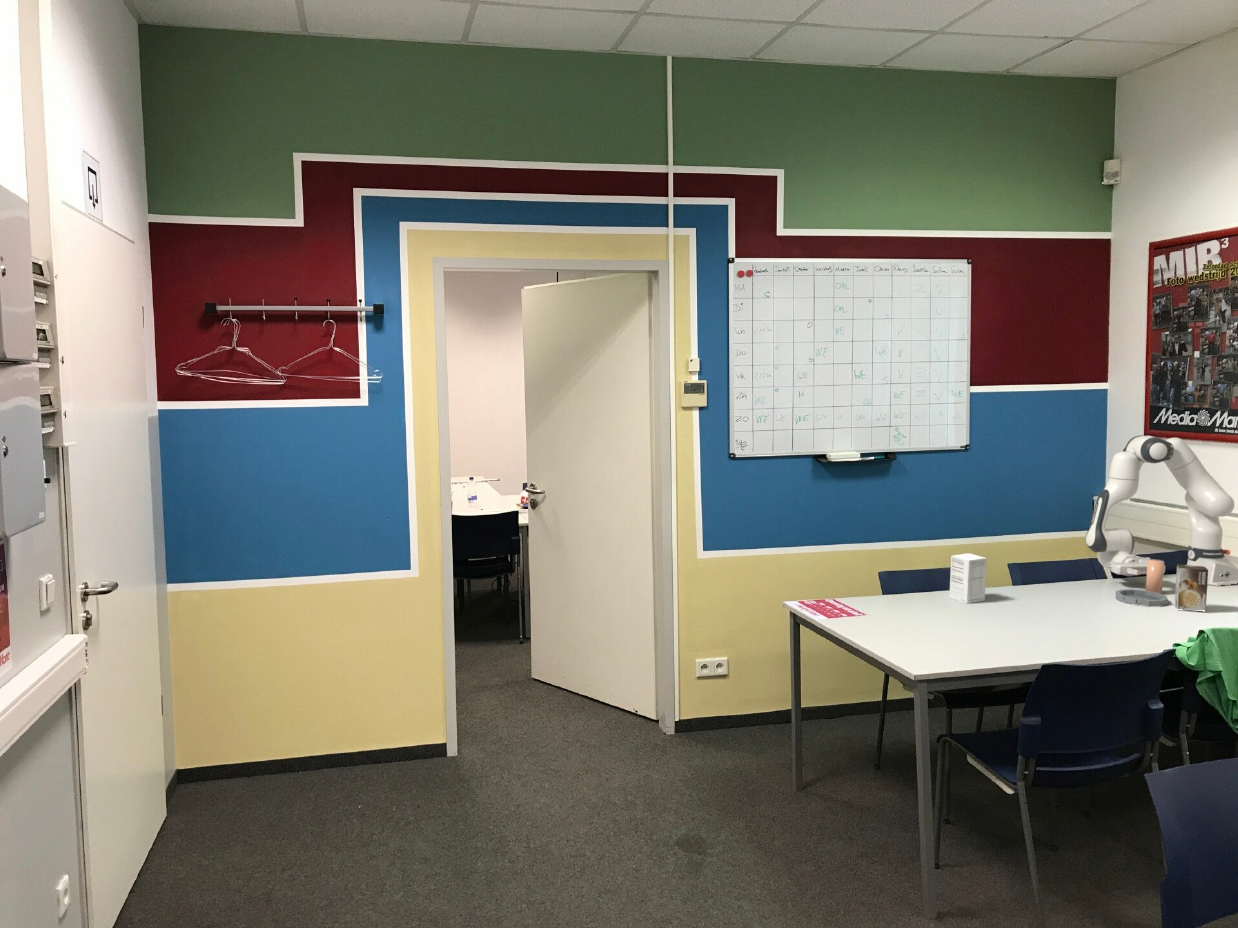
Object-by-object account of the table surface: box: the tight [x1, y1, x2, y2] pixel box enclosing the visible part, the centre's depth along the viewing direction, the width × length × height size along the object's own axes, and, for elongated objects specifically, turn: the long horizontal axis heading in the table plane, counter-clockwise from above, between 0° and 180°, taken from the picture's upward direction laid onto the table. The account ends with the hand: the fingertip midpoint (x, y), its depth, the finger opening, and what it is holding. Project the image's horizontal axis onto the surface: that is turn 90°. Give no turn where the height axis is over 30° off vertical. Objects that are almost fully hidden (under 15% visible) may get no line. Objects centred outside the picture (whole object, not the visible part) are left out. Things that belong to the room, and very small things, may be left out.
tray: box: [1115, 588, 1169, 607], centre depth 350 cm, size 17×17×2 cm
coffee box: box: [1174, 564, 1208, 610], centre depth 338 cm, size 9×6×16 cm
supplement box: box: [949, 552, 988, 604], centre depth 350 cm, size 10×9×17 cm
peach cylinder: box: [1145, 558, 1165, 595], centre depth 361 cm, size 6×6×13 cm
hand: (1150, 572), depth 363 cm, fingers open, 8 cm apart
